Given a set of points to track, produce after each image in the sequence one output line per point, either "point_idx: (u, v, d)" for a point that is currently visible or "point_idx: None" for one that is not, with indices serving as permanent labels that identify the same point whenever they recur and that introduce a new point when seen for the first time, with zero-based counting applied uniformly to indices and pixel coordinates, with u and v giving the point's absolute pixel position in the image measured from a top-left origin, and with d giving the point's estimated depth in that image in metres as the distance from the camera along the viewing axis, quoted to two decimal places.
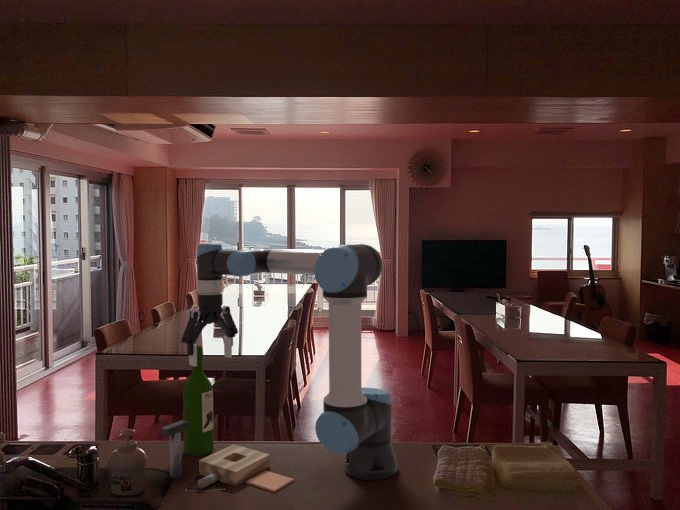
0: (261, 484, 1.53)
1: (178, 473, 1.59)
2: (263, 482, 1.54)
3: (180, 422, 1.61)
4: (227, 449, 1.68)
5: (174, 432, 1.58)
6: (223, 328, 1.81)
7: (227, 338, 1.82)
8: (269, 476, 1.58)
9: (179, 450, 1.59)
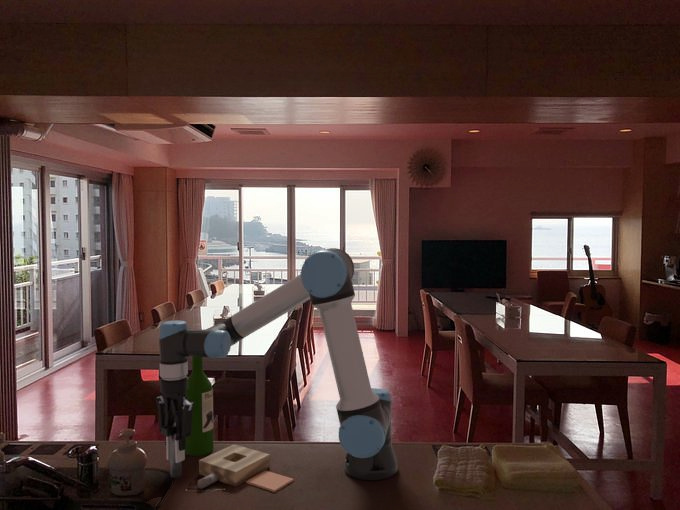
0: (261, 484, 1.53)
1: (178, 473, 1.59)
2: (263, 482, 1.54)
3: None
4: (227, 449, 1.68)
5: (174, 432, 1.58)
6: None
7: None
8: (269, 476, 1.58)
9: None
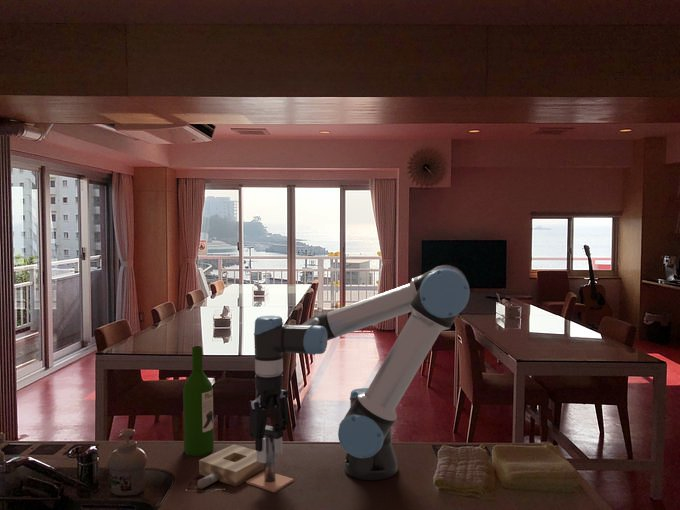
0: (261, 484, 1.53)
1: None
2: (263, 482, 1.54)
3: None
4: (227, 449, 1.68)
5: None
6: (276, 417, 1.57)
7: None
8: None
9: None
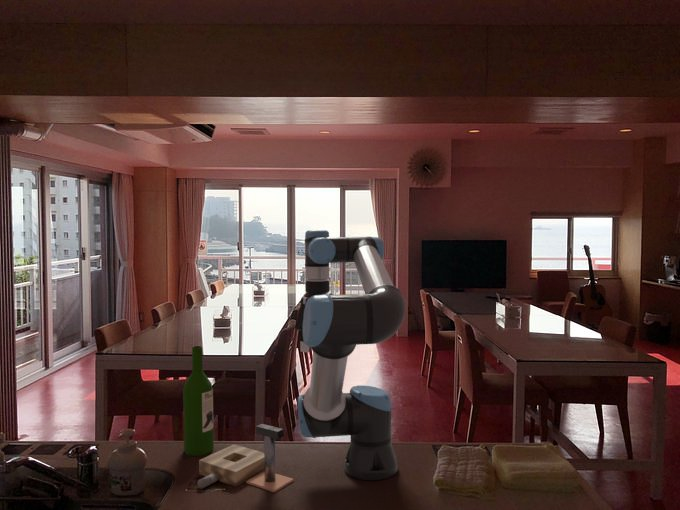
0: (261, 484, 1.53)
1: None
2: (263, 482, 1.54)
3: (264, 426, 1.56)
4: (227, 449, 1.68)
5: None
6: None
7: None
8: None
9: None
